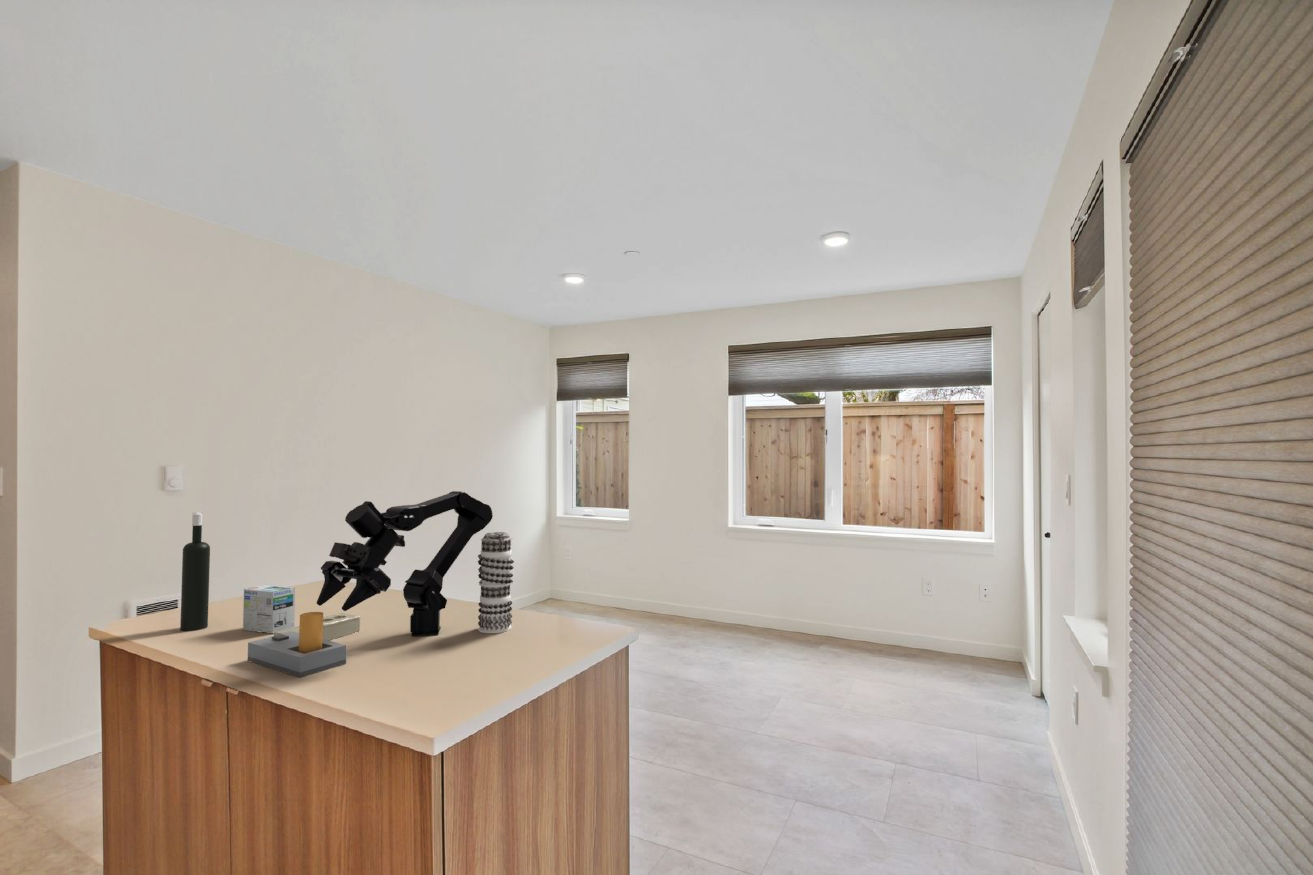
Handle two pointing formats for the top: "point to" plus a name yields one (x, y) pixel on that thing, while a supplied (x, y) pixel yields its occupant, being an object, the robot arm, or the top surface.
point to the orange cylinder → (310, 632)
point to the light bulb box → (269, 608)
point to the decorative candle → (495, 583)
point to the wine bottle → (195, 579)
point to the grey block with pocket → (295, 655)
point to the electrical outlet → (333, 626)
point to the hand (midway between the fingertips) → (330, 607)
